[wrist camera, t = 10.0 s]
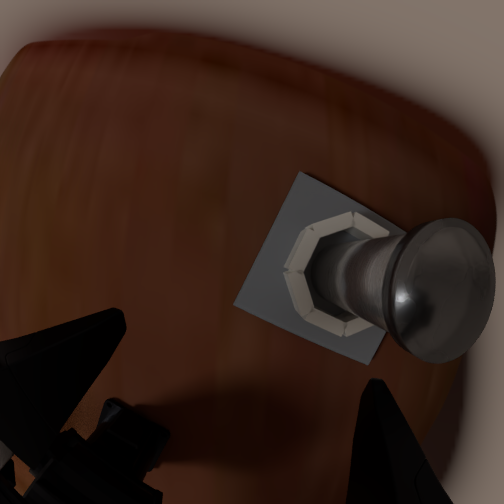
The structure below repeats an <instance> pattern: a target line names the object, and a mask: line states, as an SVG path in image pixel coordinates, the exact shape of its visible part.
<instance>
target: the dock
mask: <svg viewBox="0 0 504 504" xmlns="http://www.w3.org/2000/svg"><path fill="white" fill-rule="evenodd" d="M400 234H406V232H405V231H403V230H402V229H400V228H398V227H397V226H395V225H394V224H392V223H391V222H389V221H387V220H386V219H384V218H382V217H381V216H379V215H378V214H376V213H374V212H373V211H371V210H369V209H367V208H366V207H364V206H362V205H361V204H359V203H357V202H355V201H354V200H352V199H350V198H348V197H347V196H345V195H343V194H341V193H340V192H338V191H336V190H334V189H332V188H331V187H329V186H327V185H325V184H323V183H321V182H319V181H317V180H316V179H314V178H312V177H310V176H308V175H306V174H304V173H302V172H299V173H298V175H297V177H296V179H295V181H294V183H293V185H292V187H291V189H290V191H289V193H288V195H287V197H286V199H285V201H284V203H283V205H282V207H281V210H280V212H279V214H278V216H277V218H276V220H275V222H274V224H273V226H272V228H271V230H270V232H269V234H268V236H267V238H266V240H265V242H264V244H263V246H262V248H261V250H260V252H259V254H258V256H257V258H256V260H255V262H254V264H253V266H252V268H251V270H250V272H249V274H248V276H247V278H246V280H245V282H244V284H243V286H242V288H241V290H240V292H239V294H238V296H237V298H236V300H235V302H234V304H233V305H235V306H237V307H239V308H241V309H243V310H245V311H247V312H249V313H251V314H253V315H255V316H257V317H259V318H261V319H264V320H266V321H268V322H270V323H272V324H274V325H276V326H279V327H281V328H283V329H285V330H287V331H289V332H292V333H294V334H296V335H298V336H300V337H303V338H305V339H307V340H309V341H312V342H314V343H316V344H319V345H321V346H323V347H325V348H328V349H330V350H332V351H335V352H337V353H340V354H342V355H344V356H347V357H349V358H352V359H354V360H356V361H359V362H361V363H364V364H366V365H368V364H369V363H370V361H371V359H372V357H373V355H374V354H375V352H376V350H377V348H378V346H379V344H380V342H381V341H382V339H383V337H384V335H385V333H386V331H385V330H383V329H381V328H379V327H377V326H375V325H373V324H371V323H369V322H367V321H366V320H364V319H362V318H360V317H358V316H356V315H354V314H352V313H350V312H348V311H346V310H344V309H342V308H341V307H339V306H337V305H335V304H333V303H331V302H329V301H327V300H325V299H324V298H322V297H321V296H320V295H319V294H318V293H317V292H316V290H315V289H314V286H313V284H312V280H311V268H312V264H313V261H314V259H315V258H316V256H317V255H318V254H319V252H320V251H322V250H323V249H324V248H326V247H328V246H330V245H333V244H339V243H346V242H353V241H359V240H366V239H373V238H380V237H386V236H393V235H400Z"/></svg>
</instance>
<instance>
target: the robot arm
mask: <svg viewBox="0 0 504 504" xmlns="http://www.w3.org/2000/svg"><path fill="white" fill-rule="evenodd" d="M125 332H126V322H125V318H124V313H123V312H122V311H121V310H119V309H117V308H110V309H107V310H104V311H100V312H97V313H94V314H91V315H88V316H85V317H82V318H79V319H76V320H72V321H69V322H66V323H63V324H60V325H57V326H54V327H51V328H47V329H44V330H41V331H38V332H35V333H31V334H28V335H25V336H21V337H18V338H14V339H10V340H5V341H1V342H0V504H162V498H163V492H161V491H159V490H157V489H156V490H155V489H154V488H152V487H150V486H149V485H147V484H145V483H144V482H143V480H144V478H145V476H146V473H147V472H150V471H152V469H153V467H154V465H155V463H156V461H157V459H158V457H159V456H160V454H161V452H162V450H163V448H164V446H165V444H166V442H167V440H168V438H169V436H170V432H169V431H168V430H167V429H165V428H163V427H161V426H159V425H157V424H155V423H153V422H151V421H149V420H147V419H145V418H143V417H142V416H140V415H138V414H136V413H134V412H133V411H131V410H129V409H127V408H126V407H124V406H122V405H121V404H119V403H117V402H116V401H114V400H112V399H107V400H106V401H105V402H104V406H103V409H102V412H101V415H100V418H99V421H98V425H97V428H96V430H95V431H94V432H93V433H92V434H91V435H90V436H89V438H88V439H87V440H85V439H83V438H82V437H81V436H80V435H79V434H78V433H77V431H76V430H75V429H74V428H70V429H69V430H68V431H66V430H65V431H63V432H62V433H60V430H61V429H62V427H63V426H64V424H65V423H66V421H67V420H68V418H69V417H70V415H71V414H72V412H73V411H74V409H75V408H76V406H77V405H78V404H79V402H80V401H81V399H82V398H83V396H84V395H85V394H86V392H87V391H88V389H89V388H90V386H91V385H92V384H93V382H94V381H95V379H96V378H97V377H98V375H99V374H100V373H101V371H102V370H103V368H104V367H105V366H106V364H107V363H108V361H109V360H110V358H111V356H112V355H113V353H114V351H115V349H116V348H117V346H118V344H119V343H120V341H121V339H122V338H123V336H124V334H125ZM109 403H110V404H111V405H112V406H111V405H110V404H109ZM163 433H165V434H166V435H164V434H163ZM14 454H15V455H16V456H17V457H18V458H19V459H20V460H22V461H23V462H24V463H25V464H26V465H27V466H28V467H30V470H29V472H30V473H31V474H32V475H33V476H34V477H35V479H34V481H33V482H32V484H31V485H30V486H29V488H28V489H27V491H26V492H25V494H24V495H23V496H21V495H20V494H19V493H18V492H17V491H16V490H15V489H14V487H15V486H16V482H15V471H14V461H13V460H12V459H11V458H12V457H13V455H14ZM346 504H453V502H452V501H451V499H450V498H449V496H448V495H447V493H446V492H445V490H444V489H443V487H442V485H441V484H440V482H439V480H438V479H437V477H436V475H435V473H434V471H433V470H432V468H431V466H430V464H429V462H428V460H427V459H426V456H425V454H424V453H423V451H422V449H421V447H420V445H419V443H418V441H417V439H416V437H415V436H414V434H413V432H412V430H411V428H410V426H409V425H408V423H407V421H406V419H405V417H404V415H403V414H402V412H401V410H400V408H399V406H398V405H397V403H396V401H395V399H394V398H393V396H392V394H391V392H390V391H389V389H388V387H387V385H386V384H385V382H384V381H383V380H382V379H377V378H371V379H370V380H369V382H368V384H367V385H366V387H365V389H364V391H363V393H362V395H361V399H360V405H359V411H358V417H357V422H356V427H355V432H354V438H353V446H352V457H351V467H350V476H349V484H348V491H347V498H346Z"/></svg>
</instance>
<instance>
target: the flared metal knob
mask: <svg viewBox="0 0 504 504" xmlns="http://www.w3.org/2000/svg"><path fill="white" fill-rule="evenodd" d="M311 280H312V284H313V286H314V289H315V290H316V292H317V293H318V294H319V295H320V296H321V297H322V298H324V299H325V300H327V301H329V302H331V303H333V304H335V305H337V306H339V307H341V308H342V309H344V310H346V311H348V312H350V313H352V314H354V315H356V316H358V317H360V318H362V319H364V320H366V321H367V322H369V323H371V324H373V325H375V326H377V327H379V328H381V329H383V330H385V331H387V332H389V333H390V335H391V336H392V338H393V339H394V341H395V342H396V343H397V344H398V345H399V346H400V347H401V348H403V349H404V350H405V351H407V352H409V353H411V354H412V355H414V356H416V357H418V358H419V359H421V360H423V361H426V362H429V363H445V362H448V361H451V360H454V359H456V358H458V357H459V356H461V355H462V354H464V353H465V352H466V351H467V350H468V349H469V348H470V347H471V346H472V345H473V344H474V343H475V342H476V340H477V339H478V338H479V336H480V334H481V333H482V331H483V330H484V328H485V325H486V324H487V321H488V319H489V316H490V313H491V310H492V306H493V301H494V296H495V269H494V263H493V259H492V255H491V252H490V249H489V247H488V245H487V243H486V241H485V240H484V238H483V236H482V235H481V234H480V233H479V231H478V230H477V229H476V228H475V227H474V226H472V225H471V224H469V223H468V222H466V221H464V220H461V219H457V218H445V219H440V220H435V221H430V222H425V223H423V224H420V225H418V226H416V227H414V228H413V229H412V230H410V231H409V232H408V233H406V234H400V235H393V236H386V237H380V238H373V239H366V240H359V241H353V242H346V243H339V244H333V245H330V246H328V247H326V248H324V249H323V250H322V251H320V252H319V254H318V255H317V256H316V258H315V259H314V261H313V264H312V268H311Z"/></svg>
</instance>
